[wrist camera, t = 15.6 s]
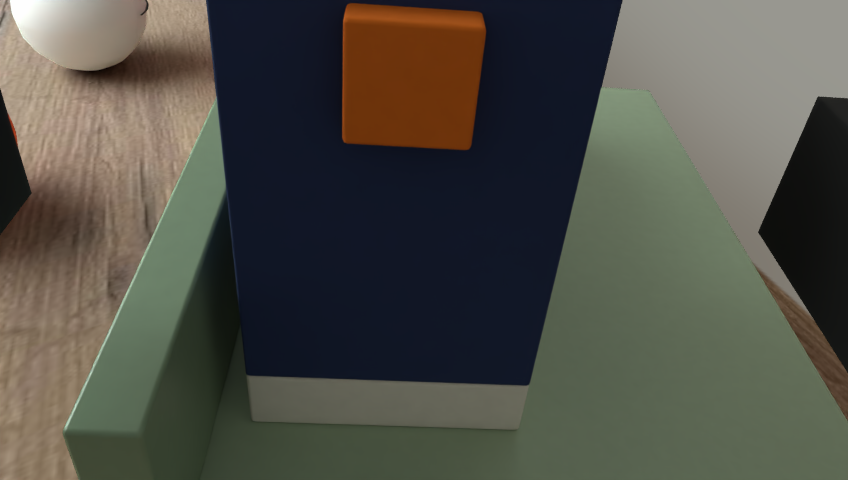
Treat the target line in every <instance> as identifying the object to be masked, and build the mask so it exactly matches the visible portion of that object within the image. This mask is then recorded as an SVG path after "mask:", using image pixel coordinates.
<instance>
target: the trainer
mask: <svg viewBox="0 0 848 480" xmlns="http://www.w3.org/2000/svg"><path fill="white" fill-rule="evenodd" d="M206 4H207V14H208V23H209V32H210V42H211V51H212V61H213V70H214V79H215V89H216V98H217V107H218V117H219V126H220V136H221V145H222V154H223V164H224V173H225V183H226V192H227V201H228V211H229V220H230V230H231V239H232V248H233V258H234V267H235V277H236V286H237V295H238V305H239V314H240V324H241V333H242V342H243V352H244V361H245V371H246V374H247V376H246V377H247V387H248V396H249V406H250V415H251V419H252V421H255V422H285V423H316V424H347V425H378V426H409V427H440V428H471V429H502V430H516V429H518V428H519V425H520V421H521V417H522V413H523V409H524V404H525V400H526V396H527V392H528V388H529V384H530V381H531V377H532V373H533V368H534V364H535V360H536V356H537V352H538V348H539V344H540V340H541V335H542V331H543V327H544V323H545V319H546V315H547V311H548V306H549V302H550V298H551V294H552V290H553V286H554V282H555V277H556V273H557V269H558V265H559V261H560V257H561V253H562V248H563V244H564V240H565V236H566V232H567V228H568V224H569V220H570V215H571V211H572V207H573V203H574V199H575V195H576V191H577V186H578V182H579V178H580V174H581V170H582V166H583V162H584V157H585V153H586V149H587V145H588V141H589V137H590V133H591V128H592V124H593V120H594V116H595V112H596V108H597V104H598V99H599V95H600V91H601V87H602V83H603V79H604V75H605V70H606V66H607V62H608V58H609V54H610V50H611V46H612V41H613V37H614V33H615V29H616V25H617V21H618V17H619V13H620V8H621V4H622V0H206Z"/></svg>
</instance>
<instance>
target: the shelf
mask: <svg viewBox="0 0 848 480" xmlns="http://www.w3.org/2000/svg"><path fill="white" fill-rule="evenodd" d="M246 376H247V374H246V371H245V361H244V352H243V342H242V333H241V324H240V314H239V305H238V295H237V286H236V277H235V267H234V258H233V248H232V239H231V230H230V220H229V211H228V201H227V192H226V183H225V173H224V164H223V154H222V145H221V136H220V126H219V117H218V107H217V98H216V99H215V101H214V103H213V106H212V108H211V110H210V112H209V114H208V117H207V119H206V121H205V123H204V125H203V127H202V130H201V132H200V134H199V136H198V138H197V140H196V143H195V145H194V147H193V149H192V151H191V153H190V156H189V158H188V160H187V162H186V164H185V166H184V169H183V171H182V173H181V175H180V177H179V180H178V182H177V184H176V186H175V188H174V190H173V193H172V195H171V197H170V199H169V201H168V203H167V206H166V208H165V210H164V212H163V214H162V216H161V219H160V221H159V223H158V225H157V227H156V229H155V232H154V234H153V236H152V238H151V240H150V243H149V245H148V247H147V249H146V251H145V253H144V256H143V258H142V260H141V262H140V264H139V266H138V269H137V271H136V273H135V275H134V277H133V279H132V282H131V284H130V286H129V288H128V290H127V292H126V295H125V297H124V299H123V301H122V303H121V306H120V308H119V310H118V312H117V314H116V316H115V319H114V321H113V323H112V325H111V327H110V329H109V332H108V334H107V336H106V338H105V340H104V342H103V345H102V347H101V349H100V351H99V353H98V355H97V358H96V360H95V362H94V364H93V366H92V369H91V371H90V373H89V375H88V377H87V379H86V382H85V384H84V386H83V388H82V390H81V392H80V395H79V397H78V399H77V401H76V403H75V405H74V408H73V410H72V412H71V414H70V416H69V418H68V421H67V423H66V425H65V427H64V430H63V436H64V439H65V442H66V445H67V448H68V451H69V453H70V456H71V459H72V462H73V465H74V467H75V470H76V473H77V476H78V479H79V480H848V421H847V419H846V418H845V416H844V414H843V413H842V411H841V409H840V408H839V406H838V404H837V403H836V401H835V399H834V398H833V396H832V395H831V393H830V391H829V390H828V388H827V386H826V385H825V383H824V381H823V380H822V378H821V376H820V375H819V373H818V371H817V370H816V368H815V366H814V365H813V363H812V361H811V360H810V358H809V356H808V355H807V353H806V351H805V350H804V348H803V346H802V345H801V343H800V341H799V340H798V338H797V336H796V335H795V333H794V331H793V330H792V328H791V326H790V325H789V323H788V321H787V320H786V318H785V316H784V315H783V313H782V311H781V310H780V308H779V306H778V305H777V303H776V301H775V300H774V298H773V296H772V295H771V293H770V291H769V290H768V288H767V286H766V285H765V283H764V281H763V280H762V278H761V276H760V275H759V273H758V271H757V270H756V268H755V266H754V265H753V263H752V261H751V260H750V258H749V256H748V255H747V253H746V251H745V250H744V248H743V247H742V245H741V243H740V241H739V240H738V238H737V236H736V235H735V233H734V231H733V230H732V228H731V226H730V225H729V223H728V221H727V220H726V218H725V216H724V215H723V213H722V211H721V210H720V208H719V206H718V205H717V203H716V201H715V200H714V198H713V196H712V195H711V193H710V191H709V190H708V188H707V186H706V185H705V183H704V181H703V180H702V178H701V177H700V175H699V173H698V171H697V170H696V168H695V166H694V165H693V163H692V162H691V160H690V158H689V156H688V155H687V153H686V151H685V150H684V148H683V146H682V145H681V143H680V142H679V140H678V138H677V137H676V135H675V133H674V131H673V130H672V128H671V126H670V125H669V123H668V121H667V120H666V118H665V116H664V115H663V113H662V112H661V110H660V108H659V106H658V105H657V103H656V101H655V100H654V98H653V96H652V95H651V93H650V91H649V90H636V89H619V88H604V87H601V91H600V95H599V99H598V104H597V108H596V112H595V116H594V120H593V124H592V128H591V133H590V137H589V141H588V145H587V149H586V153H585V157H584V162H583V166H582V170H581V174H580V178H579V182H578V186H577V191H576V195H575V199H574V203H573V207H572V211H571V215H570V220H569V224H568V228H567V232H566V236H565V240H564V244H563V248H562V253H561V257H560V261H559V265H558V269H557V273H556V277H555V282H554V286H553V290H552V294H551V298H550V302H549V306H548V311H547V315H546V319H545V323H544V327H543V331H542V335H541V340H540V344H539V348H538V352H537V356H536V360H535V364H534V368H533V373H532V377H531V381H530V384H529V388H528V392H527V396H526V400H525V404H524V409H523V413H522V417H521V421H520V425H519V428H518V429H516V430H502V429H471V428H440V427H409V426H378V425H347V424H316V423H285V422H255V421H252V419H251V415H250V406H249V396H248V387H247V377H246Z"/></svg>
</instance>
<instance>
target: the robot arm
mask: <svg viewBox="0 0 848 480" xmlns="http://www.w3.org/2000/svg"><path fill="white" fill-rule="evenodd" d="M30 195H31V190H30V186H29V183H28V180H27V176H26V173H25V170H24V166H23V163H22V160H21V156H20V153H19V150H18V146H17V143H16V140H15V136H14V133H13V130H12V126H11V123H10V120H9V116H8V113H7V110H6V106H5V103H4V100H3V96H2V93H1V90H0V235H1V233H2V232H3V231H4V229H5V228H6V227H7V225H8V224H9V223H10V221H11V220H12V219H13V217H14V216H15V215H16V213H17V212H18V211H19V209H20V208H21V207H22V205H23V204H24V203H25V201H26V200H27V199H28V197H29V196H30ZM758 233H759V234H760V236H761V237H762V239H763V240H764V242H765V243H766V245H767V247H768V248H769V250H770V251H771V253H772V254H773V256H774V258H775V259H776V261H777V262H778V264H779V266H780V267H781V269H782V270H783V272H784V273H785V275H786V277H787V278H788V279H789V281H790V283H791V284H792V286H793V287H794V289H795V291H796V292H797V294H798V295H799V297H800V299H801V300H802V301H803V303H804V305H805V306H806V308H807V309H808V311H809V313H810V314H811V316H812V317H813V319H814V320H815V322H816V324H817V325H818V327H819V328H820V330H821V331H822V333H823V335H824V336H825V338H826V339H827V341H828V342H829V344H830V346H831V347H832V349H833V350H834V352H835V353H836V355H837V357H838V358H839V360H840V361H841V363H842V364H843V366H844V368H845V369H846V371H847V372H848V99H847V98H833V97H818V98H817V100H816V102H815V105H814V107H813V109H812V111H811V113H810V116H809V118H808V120H807V123H806V125H805V127H804V130H803V132H802V134H801V136H800V138H799V141H798V143H797V145H796V147H795V150H794V152H793V154H792V157H791V159H790V161H789V163H788V166H787V168H786V170H785V172H784V175H783V177H782V179H781V181H780V184H779V186H778V188H777V191H776V193H775V195H774V197H773V200H772V202H771V205H770V206H769V209H768V211H767V213H766V216H765V218H764V220H763V222H762V225H761V227H760V229H759V232H758Z"/></svg>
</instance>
